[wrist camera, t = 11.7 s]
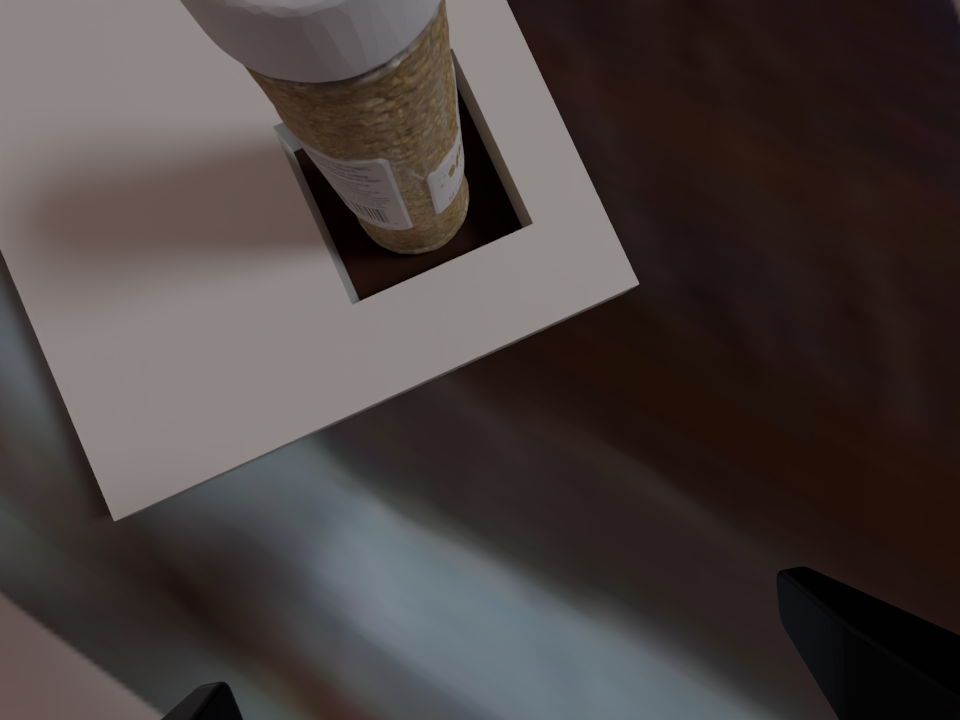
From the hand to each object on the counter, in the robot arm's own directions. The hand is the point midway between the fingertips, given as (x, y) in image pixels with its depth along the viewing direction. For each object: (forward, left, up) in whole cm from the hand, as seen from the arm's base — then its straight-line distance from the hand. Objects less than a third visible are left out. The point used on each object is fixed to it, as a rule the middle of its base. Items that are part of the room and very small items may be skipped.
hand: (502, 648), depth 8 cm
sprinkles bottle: (+12, -2, -12) cm, 17 cm away
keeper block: (+15, +2, -11) cm, 19 cm away
